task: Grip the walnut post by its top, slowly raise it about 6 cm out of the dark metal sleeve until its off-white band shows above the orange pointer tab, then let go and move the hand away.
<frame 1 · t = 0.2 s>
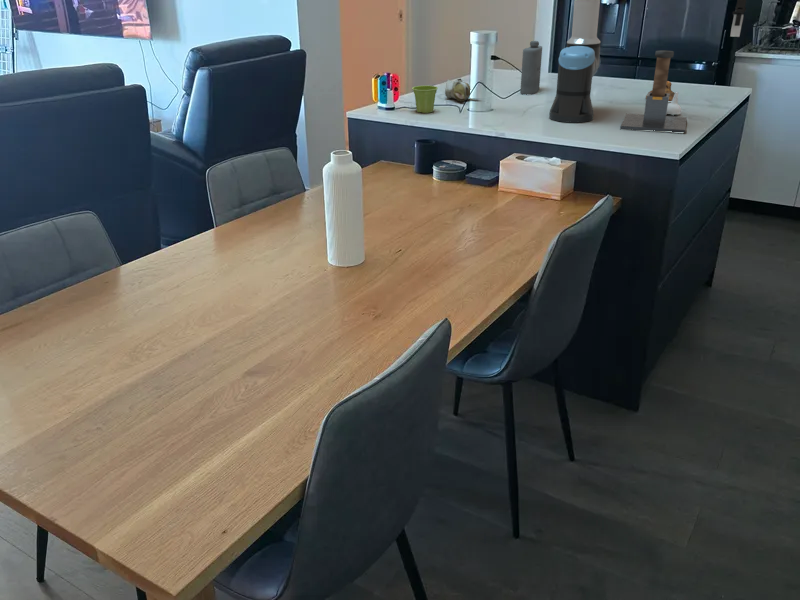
hand: (734, 34, 228), 28 cm above the table, fingers open, 13 cm apart
plant pot: (424, 112, 260), on the table
garlic bulb: (671, 115, 249), on the table
flask: (530, 92, 292), on the table
sleeve stand: (653, 125, 235), on the table
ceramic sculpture: (459, 101, 278), on the table
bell: (660, 100, 274), on the table
post: (659, 85, 229), point 13 cm above the table, slide at 0.0 cm
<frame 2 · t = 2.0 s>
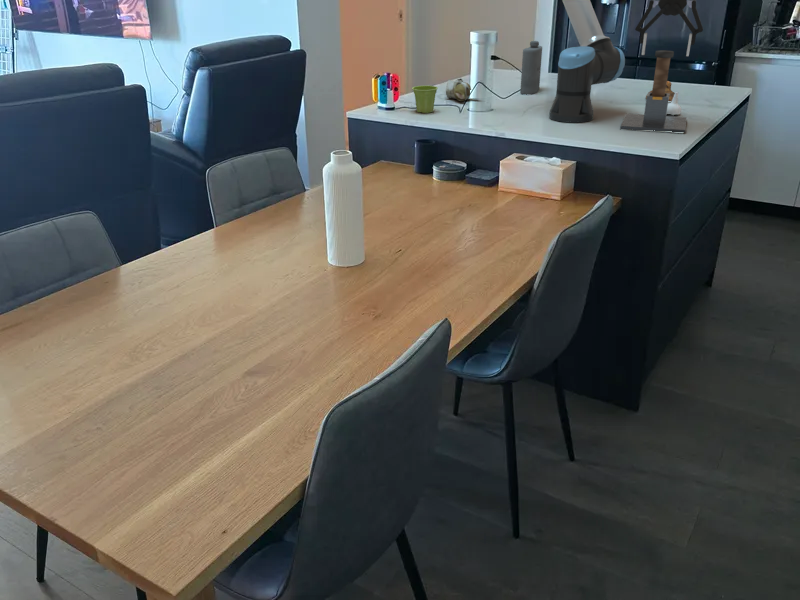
hand: (665, 55, 225), 22 cm above the table, fingers open, 13 cm apart
nothing on the table moved.
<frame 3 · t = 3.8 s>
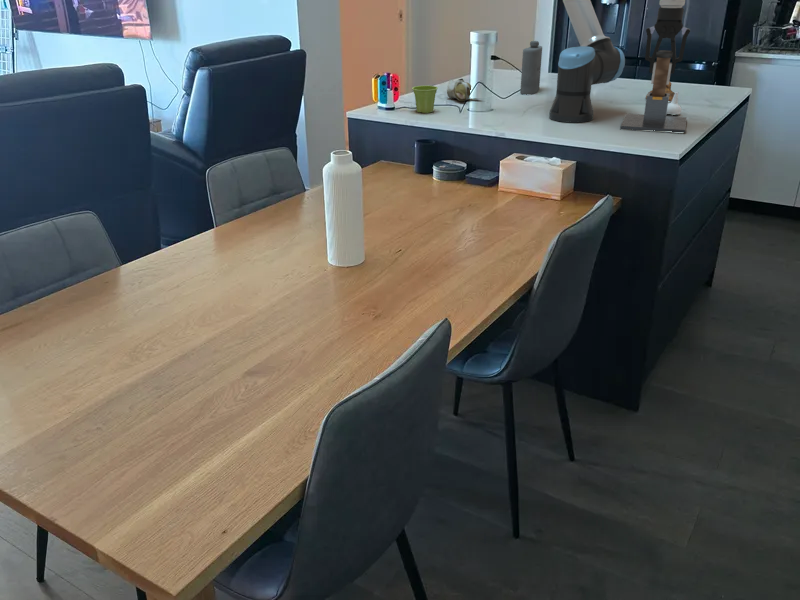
hand: (659, 83, 229), 14 cm above the table, fingers closed on post, 4 cm apart
post: (659, 86, 229), point 13 cm above the table, slide at 0.0 cm, touching gripper
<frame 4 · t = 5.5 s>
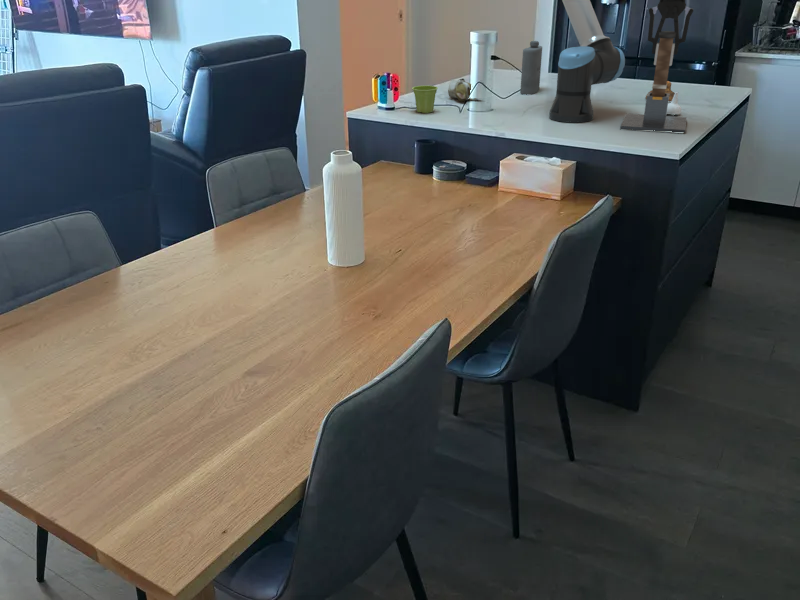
hand: (662, 64, 226), 20 cm above the table, fingers closed on post, 4 cm apart
post: (662, 67, 227), point 19 cm above the table, slide at 5.9 cm, touching gripper
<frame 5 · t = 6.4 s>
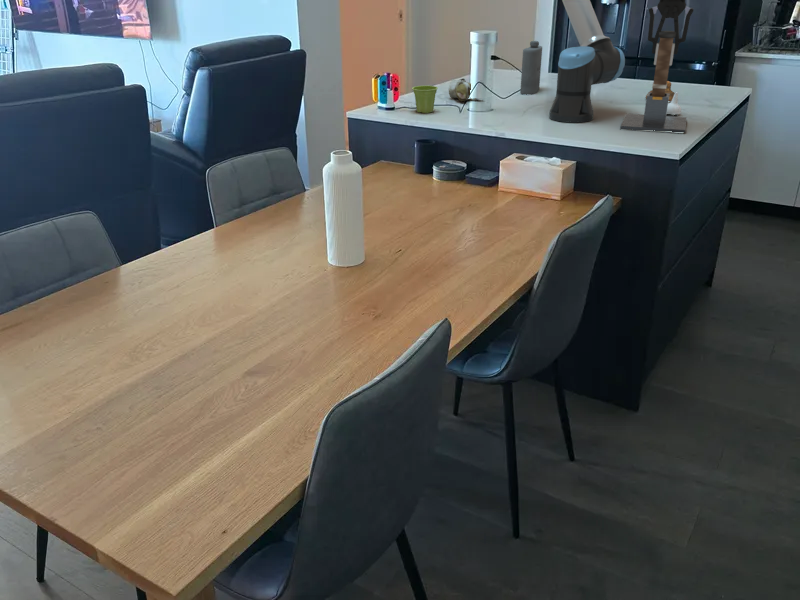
hand: (662, 64, 226), 20 cm above the table, fingers closed on post, 4 cm apart
post: (662, 67, 227), point 19 cm above the table, slide at 6.0 cm, touching gripper
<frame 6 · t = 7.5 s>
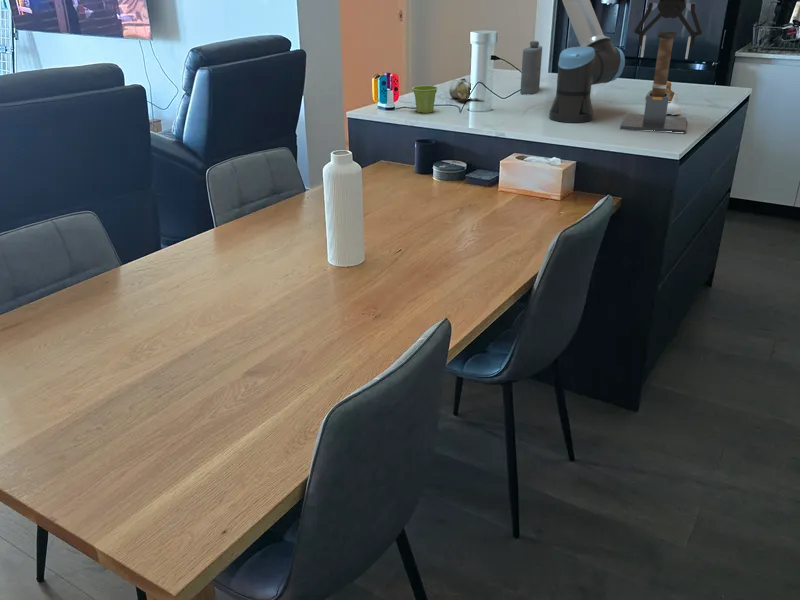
hand: (663, 57, 225), 22 cm above the table, fingers open, 13 cm apart
post: (662, 67, 227), point 19 cm above the table, slide at 6.0 cm
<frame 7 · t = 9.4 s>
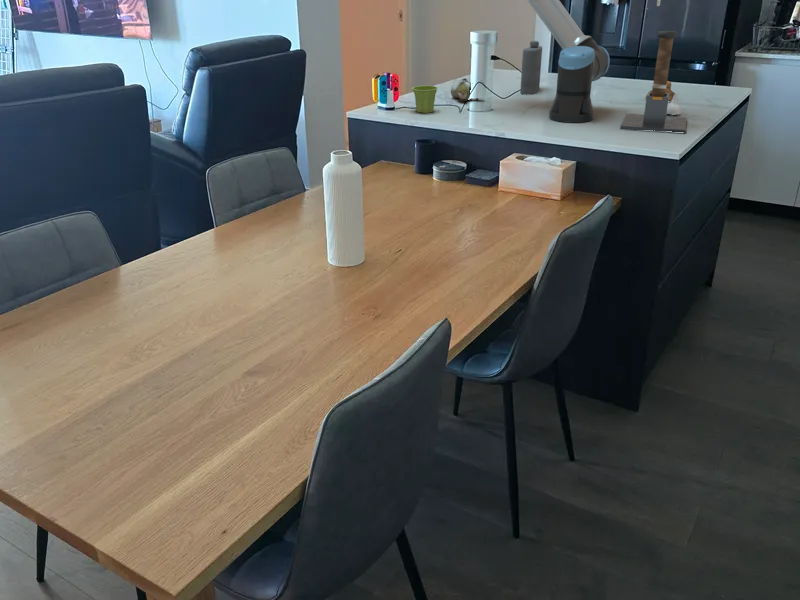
hand: (636, 5, 233), 36 cm above the table, fingers open, 13 cm apart
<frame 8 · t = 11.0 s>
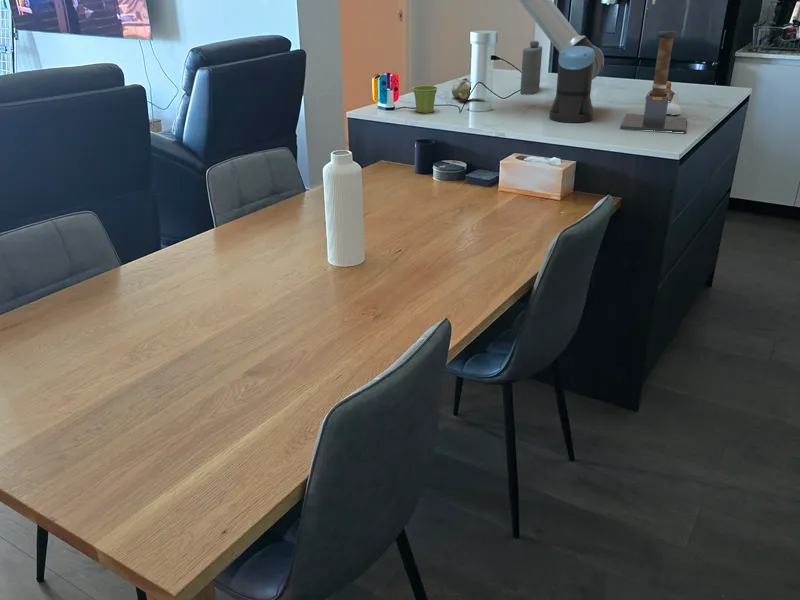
hand: (632, 3, 235), 37 cm above the table, fingers open, 13 cm apart
at the end: post slide at 6.0 cm; the gripper is holding nothing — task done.
